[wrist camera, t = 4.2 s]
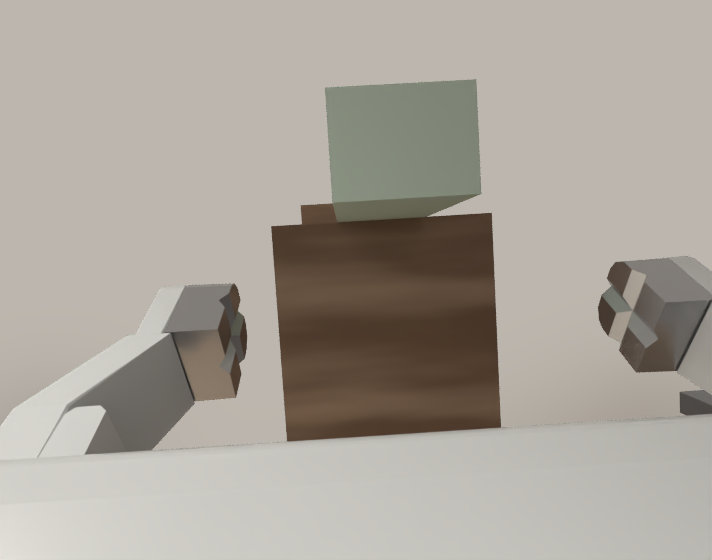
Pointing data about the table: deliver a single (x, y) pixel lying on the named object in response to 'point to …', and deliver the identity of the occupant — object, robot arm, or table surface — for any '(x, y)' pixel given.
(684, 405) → the storage box
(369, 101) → the batten
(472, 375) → the stand
